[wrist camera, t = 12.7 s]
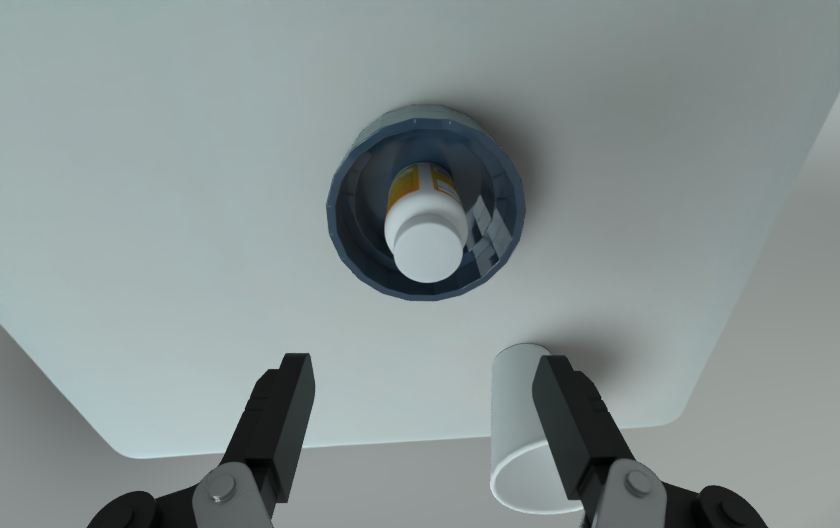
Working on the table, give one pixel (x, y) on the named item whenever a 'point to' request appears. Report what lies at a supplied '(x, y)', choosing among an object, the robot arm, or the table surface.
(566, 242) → the table surface
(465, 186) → the bowl
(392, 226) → the supplement bottle
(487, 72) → the table surface
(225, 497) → the robot arm
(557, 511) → the cup
